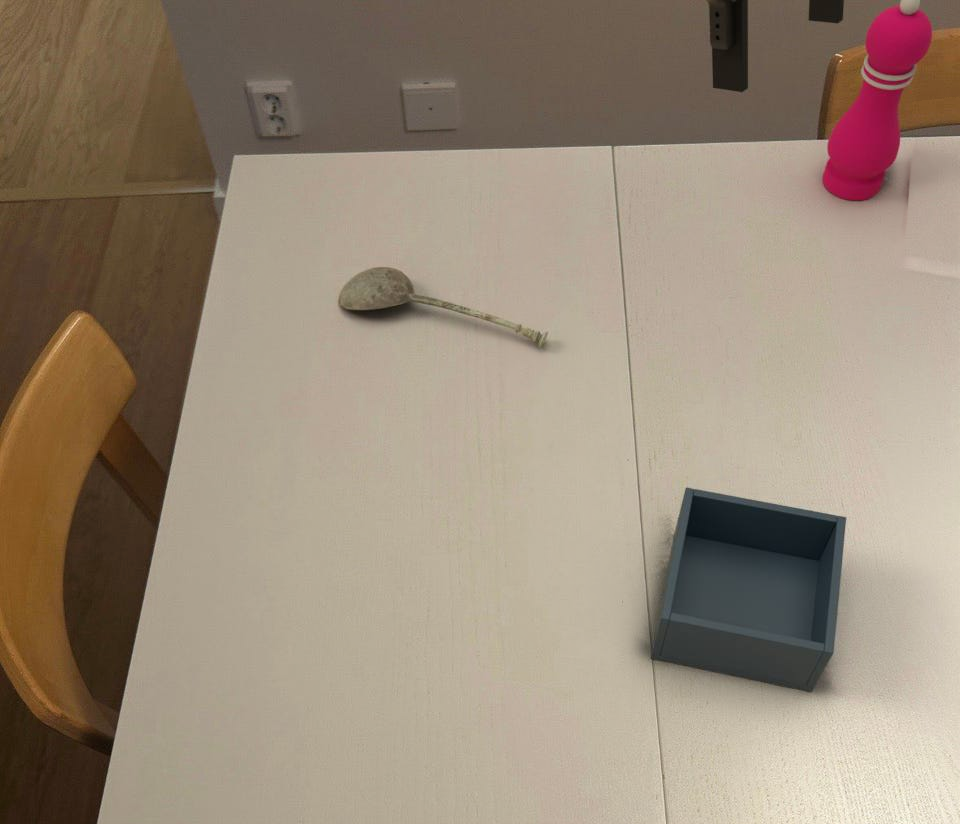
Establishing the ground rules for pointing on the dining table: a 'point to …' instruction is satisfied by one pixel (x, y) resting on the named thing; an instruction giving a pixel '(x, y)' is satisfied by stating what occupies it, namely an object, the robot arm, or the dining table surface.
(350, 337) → the dining table surface
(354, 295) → the soupspoon
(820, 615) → the box
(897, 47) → the pepper mill
